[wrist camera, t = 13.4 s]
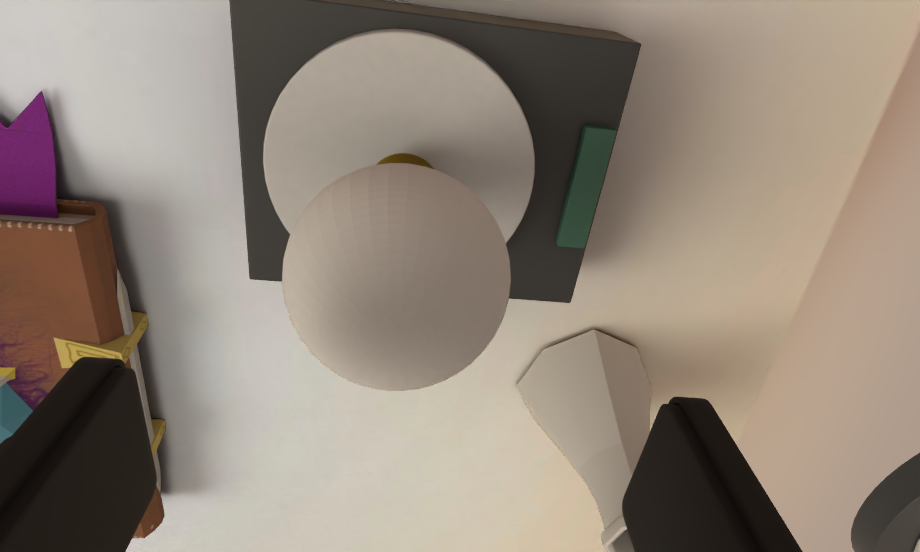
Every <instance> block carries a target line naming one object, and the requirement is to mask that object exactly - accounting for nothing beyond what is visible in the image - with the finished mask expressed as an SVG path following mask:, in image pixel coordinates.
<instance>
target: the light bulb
mask: <svg viewBox="0 0 920 552" xmlns="http://www.w3.org/2000/svg"><path fill="white" fill-rule="evenodd" d="M510 283H511V274H510V260H509V255H508V251H507V247H506V243H505V240H504V237H503V235H502V233H501V230H500V228H499V226H498V224H497V222H496V220H495V218H494V217H493V215H492V214H491V213H490V211H489V210H488V208H487V207H486V205H485V204H484V203H483V202H482V201H481V200H480V199H479V198H478V197H477V196H476V195H475V194H474V193H473V192H472V191H471V190H470V189H468V188H467V187H466V186H464V185H463V184H462V183H460V182H459V181H457V180H456V179H454V178H452V177H450V176H448V175H446V174H444V173H442V172H440V171H437V170H435V169H434V168H433V167H432V166H431V165H430V164H429V163H428V162H427V161H426V160H424V159H423V158H421V157H419V156H416V155H413V154H408V153H399V154H393V155H390V156H388V157H385V158H384V159H382V160H381V161H379V162H378V163H377V164H376V165H373V166H369V167H365V168H362V169H358V170H356V171H354V172H351V173H349V174H347V175H345V176H343V177H341V178H339V179H337V180H336V181H334V182H333V183H331V184H330V185H329V186H327V187H326V188H324V189H323V190H322V191H321V192H320V193H319V194H318V195H317V196H316V197H315V198H314V199H313V200H312V201H311V202H310V203H309V204H308V206H307V207H306V208H305V210H304V211H303V213H302V214H301V215H300V217H299V218H298V220H297V222H296V224H295V226H294V228H293V230H292V232H291V234H290V237H289V240H288V243H287V247H286V251H285V255H284V259H283V273H282V284H283V292H284V300H285V304H286V307H287V310H288V314H289V317H290V320H291V322H292V324H293V326H294V328H295V330H296V332H297V334H298V336H299V337H300V339H301V340H302V342H303V343H304V344H305V346H306V347H307V348H308V350H309V351H310V352H311V353H312V354H313V355H314V356H315V357H316V358H317V359H318V360H319V361H320V362H321V363H322V364H323V365H324V366H326V367H327V368H329V369H330V370H331V371H333V372H334V373H336V374H337V375H339V376H341V377H343V378H345V379H347V380H349V381H351V382H354V383H356V384H359V385H362V386H365V387H369V388H374V389H379V390H388V391H405V390H413V389H419V388H424V387H428V386H431V385H434V384H437V383H439V382H442V381H444V380H446V379H448V378H450V377H452V376H453V375H455V374H457V373H459V372H460V371H461V370H463V369H464V368H466V367H467V366H468V365H470V364H471V363H472V362H473V361H474V360H475V359H476V358H477V357H478V356H479V355H480V354H481V353H482V352H483V351H484V350H485V348H486V347H487V345H488V344H489V343H490V341H491V340H492V339H493V337H494V335H495V334H496V332H497V330H498V328H499V326H500V324H501V322H502V319H503V317H504V313H505V310H506V307H507V304H508V300H509V292H510Z"/></svg>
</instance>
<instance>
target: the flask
mask: <svg viewBox="0 0 920 552" xmlns="http://www.w3.org/2000/svg"><path fill="white" fill-rule="evenodd" d="M516 387H517V389H518V391H519V392H520V394H521V396H522V398H523V400H524V401H525V403H526V405H527V407H528V409H529V410H530V412H531V414H532V416H533V418H534V419H535V421H536V422H537V423H538V425H539V426H540V427H541V428H542V430H543V431H544V432H545V433H546V434H547V435H548V437H549V438H550V439H551V440H552V441H553V443H554V444H555V445H556V446H557V447H558V448H559V450H560V451H561V452H562V453H563V455H564V456H565V457H566V458H567V460H568V461H569V462H570V464H571V465H572V466H573V468H574V469H575V470H576V472H577V473H578V474H579V475H580V477H581V478H582V479H583V481H584V482H585V483H586V485H587V486H588V488H589V490H590V491H591V493H592V495H593V497H594V499H595V501H596V503H597V506H598V509H599V512H600V515H601V517H602V520H603V523H604V529H605V530H604V531H603V532H602V534H601V541H602V544H603V546H604V548H605V550H606V551H607V552H635V550H634V548H633V545H632V542H631V539H630V536H629V533H628V530H627V527H626V524H625V521H624V518H623V513H622V501H623V497H624V494H625V492H626V490H627V487H628V485H629V482H630V480H631V477H632V475H633V472H634V470H635V468H636V465H637V463H638V460H639V458H640V455H641V453H642V451H643V448H644V446H645V443H646V441H647V438H648V436H649V433H650V382H649V379H648V376H647V374H646V371H645V368H644V366H643V363H642V360H641V358H640V355H639V352H638V350H637V348H636V347H634V346H631V345H629V344H627V343H624V342H622V341H620V340H617V339H615V338H613V337H611V336H608V335H606V334H604V333H601V332H599V331H597V330H591V331H589V332H586V333H584V334H581V335H579V336H576V337H574V338H571V339H569V340H566V341H564V342H561V343H559V344H556V345H554V346H551V347H548V348H546V349H544V350H543V351H542V352H541V354H540V355H539V356H538V358H537V359H536V360H535V362H534V363H533V364H532V366H531V367H530V368H529V370H528V371H527V372H526V374H525V375H524V376H523V378H522V379H521V380H520V382H519V383H518V384H517V386H516Z"/></svg>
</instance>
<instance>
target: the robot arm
mask: <svg viewBox="0 0 920 552" xmlns="http://www.w3.org/2000/svg"><path fill="white" fill-rule="evenodd" d="M156 484H157V474H156V469H155V464H154V459H153V454H152V450H151V445H150V440H149V435H148V430H147V425H146V421H145V416H144V411H143V406H142V401H141V396H140V392H139V387H138V382H137V377H136V373H135V371H134V370H133V369H131V368H126V365H125V363H124V362H123V361H122V360H121V359H114V358H99V357H82V358H79V359H78V360H77V361H76V362H75V363H74V364H73V365H72V367H71V368H70V369H69V370H68V371H67V372H66V373H65V375H64V376H63V377H62V378H61V379H60V380H59V382H58V383H57V384H56V385H55V386H54V387H53V389H52V390H51V391H50V392H49V393H48V394H47V395H46V397H45V398H44V399H43V400H42V401H41V402H40V404H39V405H38V406H37V407H36V408H35V409H34V411H33V412H32V413H31V414H30V415H29V416H28V417H27V419H26V420H25V421H24V422H23V423H22V424H21V426H20V427H19V428H18V429H17V430H16V431H15V433H14V434H13V435H12V436H10V437H8V438H6V439H5V440H4V441H3V442H2V443H1V444H0V552H125V551H126V549H127V547H128V545H129V543H130V541H131V539H132V537H133V535H134V533H135V531H136V529H137V527H138V525H139V524H140V522H141V520H142V518H143V516H144V514H145V512H146V510H147V508H148V506H149V504H150V502H151V500H152V498H153V495H154V493H155V489H156ZM622 513H623V518H624V521H625V524H626V527H627V530H628V533H629V536H630V539H631V542H632V545H633V548H634V550H635V552H802V550H801V549H800V547H799V545H798V544H797V542H796V540H795V539H794V537H793V536H792V534H791V532H790V531H789V529H788V528H787V526H786V524H785V523H784V521H783V520H782V518H781V516H780V515H779V513H778V512H777V510H776V508H775V507H774V505H773V503H772V502H771V500H770V498H769V497H768V495H767V494H766V492H765V490H764V489H763V487H762V486H761V484H760V482H759V481H758V479H757V477H756V476H755V475H754V473H753V471H752V470H751V468H750V466H749V465H748V463H747V461H746V460H745V458H744V457H743V455H742V453H741V452H740V450H739V449H738V447H737V445H736V444H735V442H734V440H733V439H732V437H731V436H730V434H729V432H728V431H727V429H726V427H725V426H724V424H723V423H722V421H721V419H720V418H719V416H718V415H717V413H716V411H715V410H714V408H713V406H712V405H711V404H710V402H709V401H708V400H706V399H702V398H687V397H673V398H672V399H671V400H670V401H669V403H668V404H663V405H662V406H661V407H660V409H659V412H658V414H657V416H656V419H655V421H654V424H653V426H652V429H651V431H650V433H649V436H648V438H647V441H646V443H645V446H644V448H643V451H642V453H641V455H640V458H639V460H638V463H637V465H636V468H635V470H634V472H633V475H632V477H631V480H630V482H629V485H628V487H627V490H626V492H625V494H624V497H623V501H622ZM914 552H920V538H919V539H918V541H917V544H916V547H915V549H914Z"/></svg>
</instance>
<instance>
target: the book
mask: <svg viewBox="0 0 920 552" xmlns="http://www.w3.org/2000/svg"><path fill="white" fill-rule="evenodd" d="M147 327H148V321H147V315H146V313H140V312H132V311H131V309H130V304H129V298H128V293H127V289H126V287H125V285H124V282H123V280H122V278H121V275H120V273H119V271H118V268H117V263H116V258H115V252H114V247H113V242H112V237H111V232H110V226H109V221H108V216H107V211H106V208H105V207H104V206H103V204H102V203H100V202H88V201H76V200H63V199H57V198H56V161H55V150H54V140H53V132H52V128H51V124H50V120H49V116H48V112H47V108H46V104H45V100H44V96H43V93H42V91H41V92H40V93H39V94H38V95H37V96H36V97H35V98H34V100H33V101H32V102H31V103H30V104H29V105H28V106H27V107H26V108H25V110H24V111H23V112H22V113H21V114H20V115H19V116H18V117H17V118H16V119H15V121H14V122H13V123H12V124H11V125H10V126H9V127H6V126H5V125H4V124H3V123H2V122H0V444H1V443H2V442H3V441H4V440H5V439H6V438H8V437H10V436H12V435H13V434H14V433H15V431H16V430H17V429H18V428H19V427H20V426H21V424H22V423H23V422H24V421H25V420H26V419H27V417H28V416H29V415H30V414H31V413H32V412H33V411H34V409H35V408H36V407H37V406H38V405H39V404H40V402H41V401H42V400H43V399H44V398H45V397H46V395H47V394H48V393H49V392H50V391H51V390H52V389H53V387H54V386H55V385H56V384H57V383H58V382H59V380H60V379H61V378H62V377H63V376H64V375H65V373H66V372H67V371H68V370H69V369H70V368H71V367H72V365H73V364H74V363H75V362H76V361H77V360H78V359H79V358H82V357H99V358H114V359H121V360H122V361H123V362H124V363H125V365H126V368H131V369H133V370H134V371H135V373H136V377H137V382H138V387H139V392H140V396H141V401H142V406H143V411H144V416H145V421H146V425H147V430H148V435H149V440H150V445H151V450H152V454H153V459H154V464H155V469H156V474H157V484H156V489H155V493H154V495H153V498H152V500H151V502H150V504H149V506H148V508H147V510H146V512H145V514H144V516H143V518H142V520H141V522H140V524H139V525H138V527H137V529H136V531H135V533H134V535H133V537H132V538H145V537H146V536H148V535H149V534H150V533H152V532H153V531H154V530H155V529H156V528H157V527H158V526H159V525H160V524H161V523H162V521H163V518H164V509H163V504H162V498H161V471H160V465H159V460H158V455H157V448H158V446H159V444H160V441H161V439H162V437H163V435H164V432H165V430H166V427H165V421H164V420H160V419H151V417H150V411H149V406H148V401H147V395H146V390H145V384H144V379H143V374H142V368H141V363H140V358H139V352H138V347H137V343H138V342H139V340H140V338H141V337H142V335H143V333H144V332H145V330H146V328H147Z"/></svg>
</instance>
